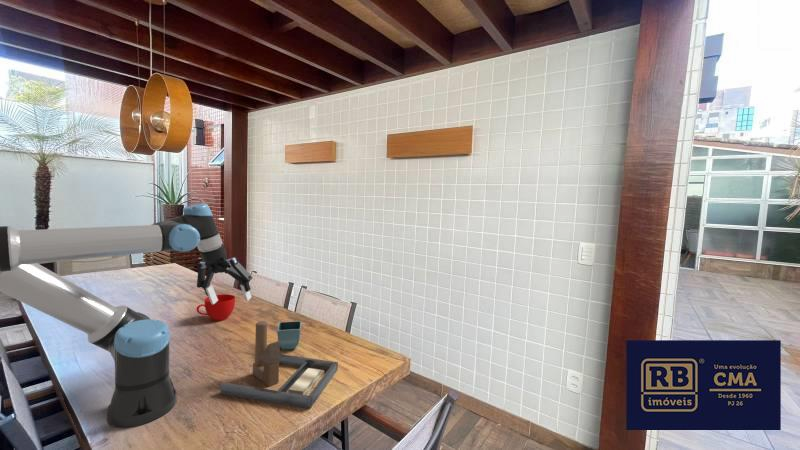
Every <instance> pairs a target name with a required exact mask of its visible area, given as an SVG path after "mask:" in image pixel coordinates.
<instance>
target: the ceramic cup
mask: <svg viewBox="0 0 800 450" xmlns="http://www.w3.org/2000/svg"><path fill="white" fill-rule="evenodd" d="M216 296H217V299H218V301H217V302H216V303H215V304H213V305H212V304H211V301H210V299H209V297H208V296H206V297H205V298H204V304H198V305H197V307H196V312H197V313H198V314H199V315H202V316H208V317H209V318H210V319H211V320H212V321H215V322H216V321H217V322H219V321H224V320H227V319H228V318H229V317H230V316H231V314H232V313H233V311H234V309H235V307H236V306H235V304H236V296H235V295H233V294H229V293H228V294H227V293H226V294H216ZM202 307H204V308H205V313H204V312H201V311H200V308H202Z"/></svg>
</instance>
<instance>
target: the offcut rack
mask: <svg viewBox="0 0 800 450" xmlns="http://www.w3.org/2000/svg"><path fill="white" fill-rule="evenodd" d="M279 365H286V366H291V367H298V369H296V371H295V372H294V373H293V374H292V375H291V376H290V377H289V378H288V379H287V380H286V381H285V382H284V383H283V384H282V385H281V386H280V388H279V389H277V390H275V389H274V390H273V389H269V388H263V387H262V388H261V387H255V386H248V385H243V384H242V385H241V384H236V383H235V384H234V383H229V382H221V384H219V385H220V387H219V390H220V391H219V394H220V395H224V396H230V397H237V398H243V399H249V400H255V401H262V402H266V403H267V402H268V403H274V404H278V405H279V404H280V405H286V406H289V407H290V406H292V407H297V408H303V409H310V410H311V409H312V408H313V406H314V404H315V403H316V402H317V400H318V398H319V397H320V396H321V395H322V393H323V392H324V390H325V389H326V388H327V386H328V384H329V383H330V382H331V380H332V379H333V377H334V376H335V374H336V373H337V372H338V368H339V367H338V365H339V362H338V361H333V360H324V359H319V358H310V357H304V356H303V357H302V356H295V355H290V354H289V355H287V354H281V353H279ZM308 368H312V369H319V370H324V371H326V372H325V373H324V374H323V375H322V377H321V378H320V379H319V381H318V382H317V383H316V384H315V386H314V387H313V388H312V390H311V391H310V392H309V393H310V394H309V395H308V394H307V395H300V394H294V393H289V388H290V387H291V386H292V385H293V384H294V383H295V382H296V381H297V380H298V379H299V377H300V376H301V375H302V374H303V373H304V372H305V371H306V370H307V369H308Z"/></svg>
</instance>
